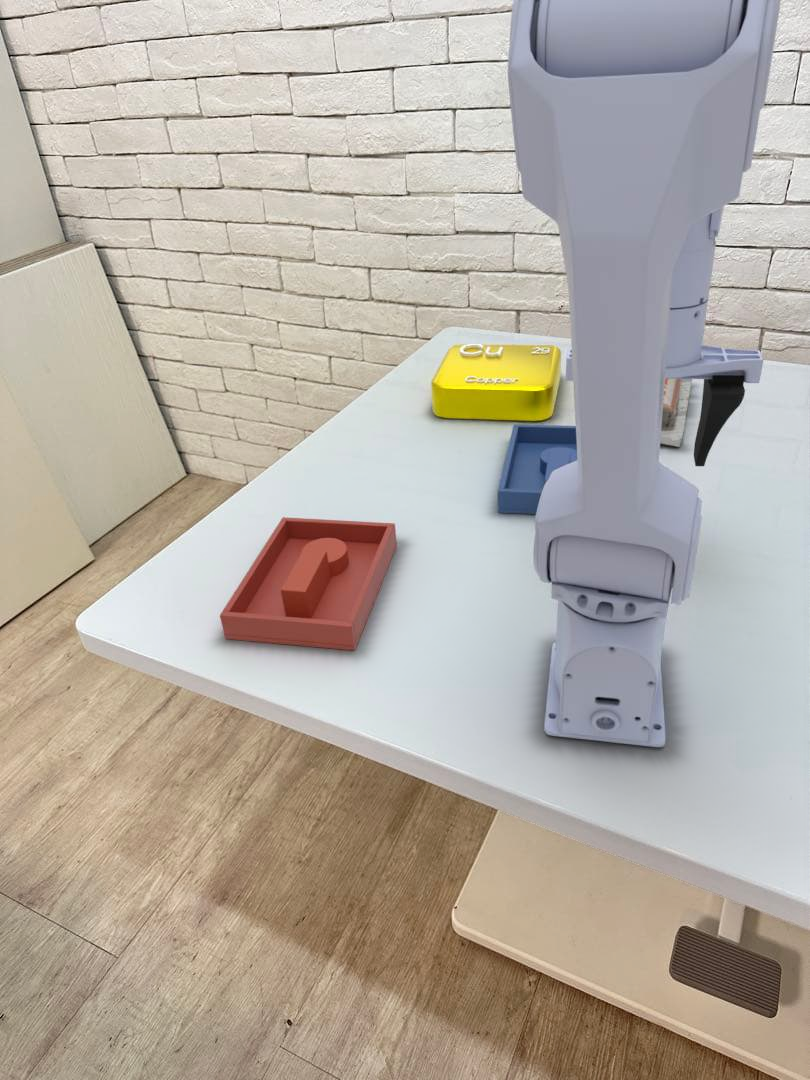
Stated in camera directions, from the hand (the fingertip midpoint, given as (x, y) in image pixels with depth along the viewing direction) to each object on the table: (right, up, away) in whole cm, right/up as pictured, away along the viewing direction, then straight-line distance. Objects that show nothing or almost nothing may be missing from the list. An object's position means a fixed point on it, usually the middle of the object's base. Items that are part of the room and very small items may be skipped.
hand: (650, 459), depth 67 cm
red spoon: (-29, -11, +4) cm, 31 cm away
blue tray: (-4, 0, +17) cm, 18 cm away
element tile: (-9, +12, +36) cm, 39 cm away
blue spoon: (-5, -1, +16) cm, 16 cm away
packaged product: (+8, +8, +29) cm, 32 cm away
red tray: (-29, -11, +4) cm, 31 cm away
